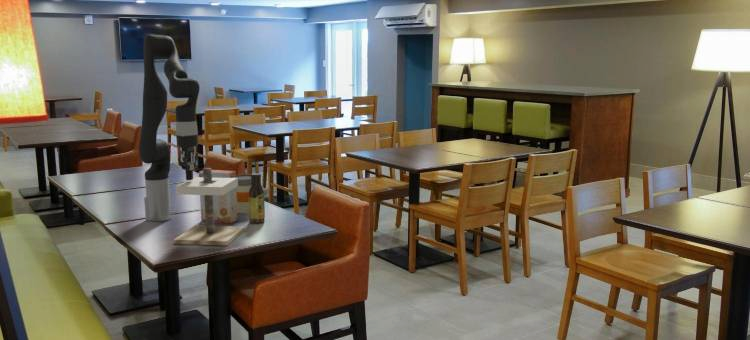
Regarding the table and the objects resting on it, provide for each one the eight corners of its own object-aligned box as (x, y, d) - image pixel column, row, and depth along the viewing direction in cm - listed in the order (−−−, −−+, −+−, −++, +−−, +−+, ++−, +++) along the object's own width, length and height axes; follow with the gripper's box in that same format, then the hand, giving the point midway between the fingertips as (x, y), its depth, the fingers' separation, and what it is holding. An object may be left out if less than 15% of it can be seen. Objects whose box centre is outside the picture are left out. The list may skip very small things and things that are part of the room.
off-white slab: (176, 194, 225) (176, 186, 224) (195, 184, 241) (194, 177, 241) (222, 195, 223) (221, 187, 222) (238, 185, 240) (237, 177, 239)
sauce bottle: (261, 224, 253) (259, 175, 249) (247, 223, 254) (245, 175, 251) (267, 220, 259) (265, 172, 256) (253, 219, 260) (251, 172, 257)
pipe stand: (173, 243, 227) (169, 173, 222) (195, 228, 246) (191, 163, 242) (227, 245, 224) (223, 174, 220) (244, 230, 244) (242, 164, 239)
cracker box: (238, 220, 259) (236, 170, 255) (230, 224, 253) (228, 173, 250) (209, 217, 264) (206, 168, 260) (200, 221, 258) (198, 171, 254)
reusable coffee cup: (256, 214, 269) (255, 179, 266) (227, 214, 269) (225, 179, 267) (262, 207, 282) (261, 174, 279) (234, 207, 282) (233, 174, 279)
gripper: (184, 131, 236) (187, 176, 239) (169, 135, 223) (172, 183, 226) (203, 131, 235) (206, 176, 238) (189, 135, 222) (192, 183, 225)
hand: (189, 179), depth 232 cm, fingers closed
